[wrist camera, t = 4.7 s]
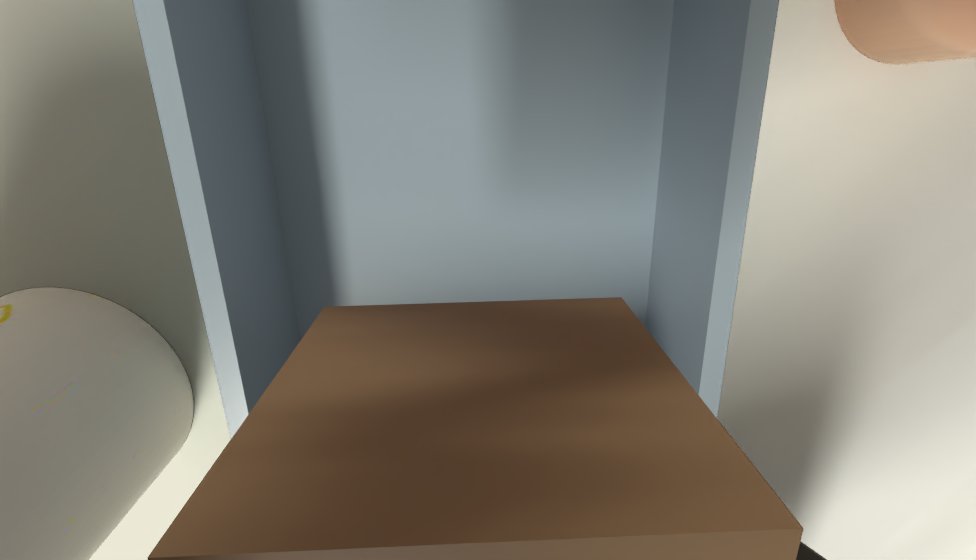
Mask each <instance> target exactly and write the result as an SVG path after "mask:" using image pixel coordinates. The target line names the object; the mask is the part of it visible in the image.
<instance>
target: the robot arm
mask: <svg viewBox="0 0 976 560" xmlns="http://www.w3.org/2000/svg"><path fill="white" fill-rule="evenodd" d="M796 560H826V559H825V558H824V557H822V556H821V555H819V554H818V553H816V552H815V551H814V550H812V549H811V548H809V547H808V546H806V545H805V544H803V543H802V542H801V541H800V545H799V549H798V553H797V558H796Z"/></svg>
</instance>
